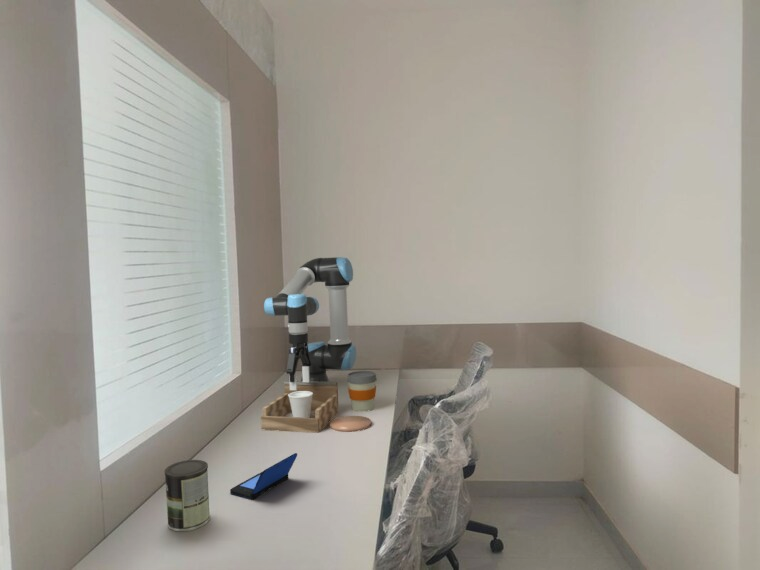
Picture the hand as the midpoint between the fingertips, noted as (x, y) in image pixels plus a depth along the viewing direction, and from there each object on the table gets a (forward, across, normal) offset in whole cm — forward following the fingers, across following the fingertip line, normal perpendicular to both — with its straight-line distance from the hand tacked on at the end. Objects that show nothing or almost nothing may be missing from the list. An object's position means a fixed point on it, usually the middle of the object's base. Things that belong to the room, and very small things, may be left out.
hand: (299, 386), depth 217 cm
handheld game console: (+16, +60, +12) cm, 63 cm away
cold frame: (+14, 0, 0) cm, 14 cm away
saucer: (+14, +2, +21) cm, 25 cm away
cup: (+14, 0, 0) cm, 15 cm away
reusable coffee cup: (+14, -20, +20) cm, 32 cm away
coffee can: (+16, +82, +2) cm, 83 cm away
